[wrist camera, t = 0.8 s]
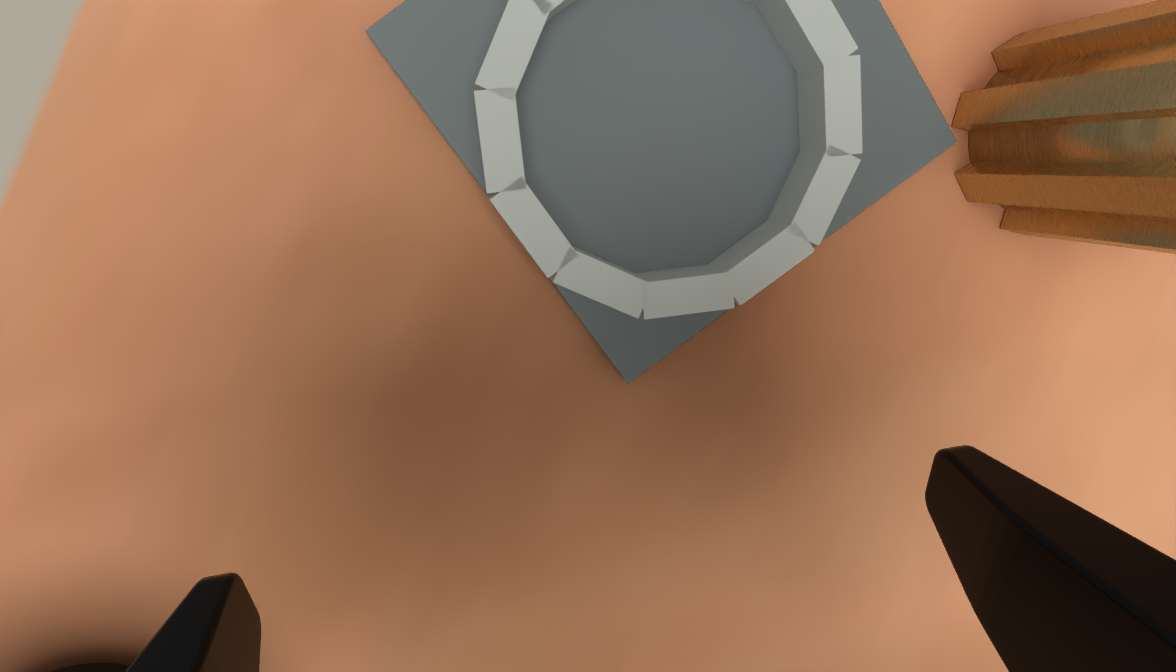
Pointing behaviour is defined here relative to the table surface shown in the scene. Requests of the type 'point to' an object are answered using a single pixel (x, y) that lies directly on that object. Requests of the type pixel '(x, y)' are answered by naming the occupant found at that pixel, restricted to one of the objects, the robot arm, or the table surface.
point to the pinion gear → (1081, 130)
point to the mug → (94, 668)
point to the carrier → (668, 140)
